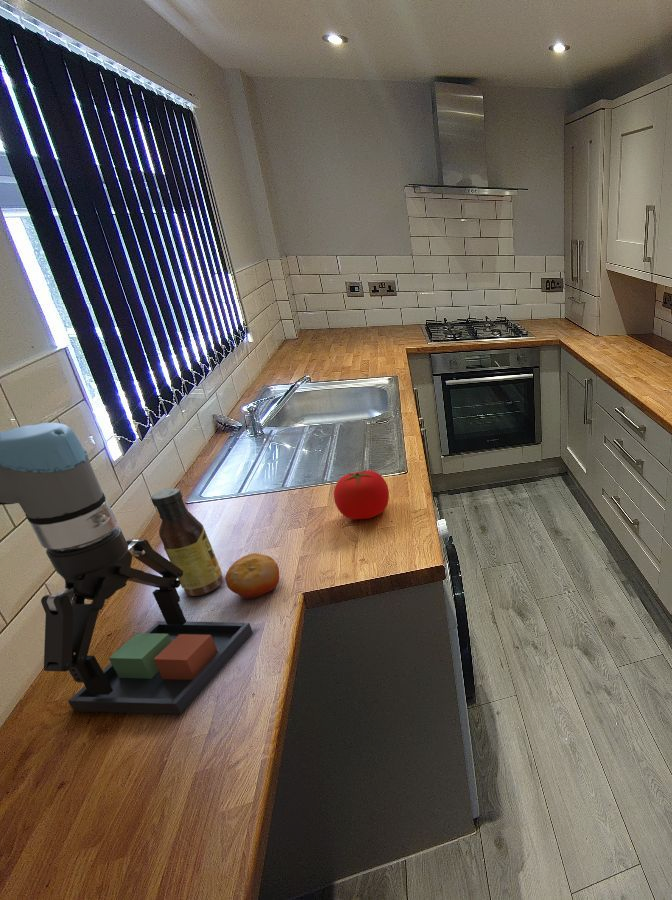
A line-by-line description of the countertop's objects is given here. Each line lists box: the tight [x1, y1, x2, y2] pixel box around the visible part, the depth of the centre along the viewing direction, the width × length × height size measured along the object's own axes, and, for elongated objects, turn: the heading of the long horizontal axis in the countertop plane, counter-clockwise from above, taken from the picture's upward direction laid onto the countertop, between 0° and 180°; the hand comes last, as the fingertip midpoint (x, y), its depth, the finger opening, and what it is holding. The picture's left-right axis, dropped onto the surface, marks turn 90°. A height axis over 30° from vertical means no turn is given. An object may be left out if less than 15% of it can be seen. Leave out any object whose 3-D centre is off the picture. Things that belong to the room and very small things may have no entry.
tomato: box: [333, 468, 390, 520], centre depth 118 cm, size 11×12×10 cm
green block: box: [108, 632, 172, 679], centre depth 79 cm, size 5×5×4 cm
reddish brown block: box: [153, 634, 218, 680], centre depth 79 cm, size 5×5×4 cm
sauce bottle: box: [150, 487, 224, 597], centre depth 94 cm, size 7×6×20 cm
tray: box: [67, 620, 254, 716], centre depth 80 cm, size 16×16×2 cm
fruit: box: [224, 552, 280, 600], centre depth 95 cm, size 8×8×8 cm
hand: (142, 655), depth 79 cm, fingers open, 13 cm apart
